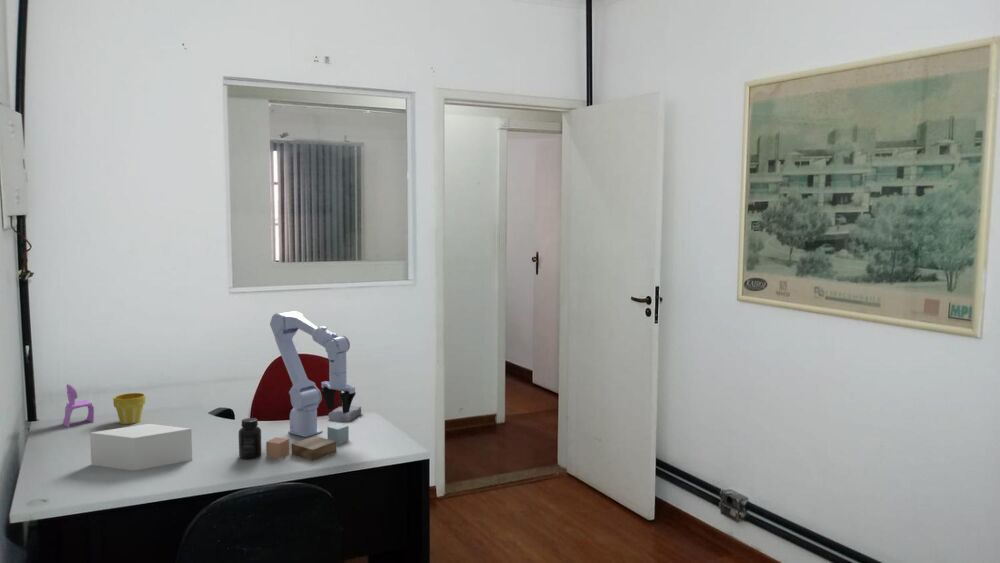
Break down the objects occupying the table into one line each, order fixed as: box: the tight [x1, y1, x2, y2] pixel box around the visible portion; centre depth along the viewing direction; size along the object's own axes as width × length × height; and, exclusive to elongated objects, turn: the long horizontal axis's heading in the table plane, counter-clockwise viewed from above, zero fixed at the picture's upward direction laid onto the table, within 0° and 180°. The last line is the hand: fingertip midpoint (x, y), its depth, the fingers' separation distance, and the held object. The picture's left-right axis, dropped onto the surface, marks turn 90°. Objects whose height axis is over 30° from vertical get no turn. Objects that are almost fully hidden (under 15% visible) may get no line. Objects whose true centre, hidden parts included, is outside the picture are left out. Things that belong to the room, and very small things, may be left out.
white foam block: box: [89, 423, 193, 472], centre depth 215 cm, size 14×29×10 cm, turn 101°
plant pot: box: [112, 392, 146, 425], centre depth 257 cm, size 10×10×10 cm
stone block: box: [328, 404, 362, 422], centre depth 268 cm, size 12×5×10 cm
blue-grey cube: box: [327, 422, 350, 445], centre depth 240 cm, size 5×5×5 cm
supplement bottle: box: [238, 417, 263, 461], centre depth 222 cm, size 7×7×12 cm
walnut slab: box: [291, 435, 337, 462], centre depth 226 cm, size 10×10×4 cm
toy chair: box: [61, 383, 95, 428], centre depth 254 cm, size 8×9×15 cm
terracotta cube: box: [265, 436, 290, 460], centre depth 224 cm, size 5×5×5 cm
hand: (338, 410), depth 239 cm, fingers open, 7 cm apart
